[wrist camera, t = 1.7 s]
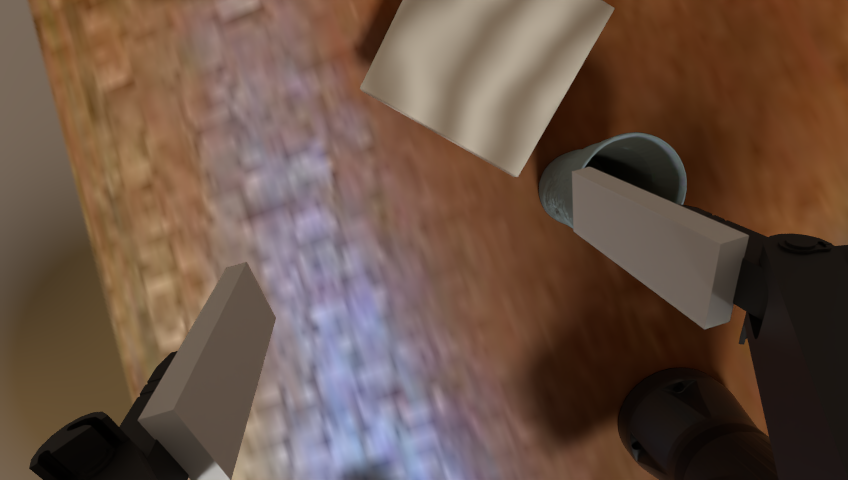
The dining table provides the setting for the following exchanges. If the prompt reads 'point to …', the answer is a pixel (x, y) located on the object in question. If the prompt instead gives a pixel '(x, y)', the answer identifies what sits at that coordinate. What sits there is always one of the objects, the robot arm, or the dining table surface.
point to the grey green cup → (615, 171)
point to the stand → (485, 69)
